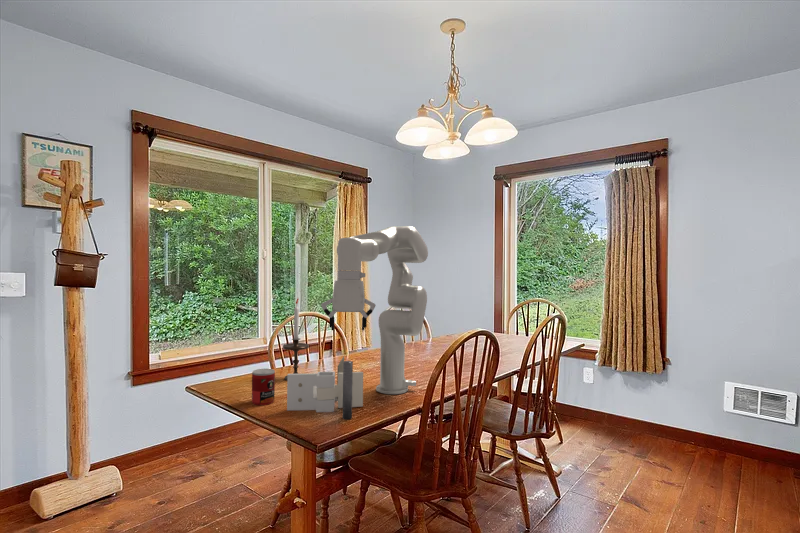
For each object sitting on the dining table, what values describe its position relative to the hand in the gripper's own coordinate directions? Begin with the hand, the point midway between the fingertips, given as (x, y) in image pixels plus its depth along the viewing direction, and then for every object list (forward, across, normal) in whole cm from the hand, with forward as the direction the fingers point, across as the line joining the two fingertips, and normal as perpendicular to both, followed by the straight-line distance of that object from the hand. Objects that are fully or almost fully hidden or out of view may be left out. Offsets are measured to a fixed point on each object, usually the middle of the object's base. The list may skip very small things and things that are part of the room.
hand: (348, 329), depth 136 cm
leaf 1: (+28, +12, -10) cm, 32 cm away
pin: (+28, 0, 0) cm, 28 cm away
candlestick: (+28, +23, -50) cm, 61 cm away
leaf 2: (+28, +2, -10) cm, 30 cm away
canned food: (+28, +30, -18) cm, 45 cm away
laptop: (+29, +9, -28) cm, 41 cm away
